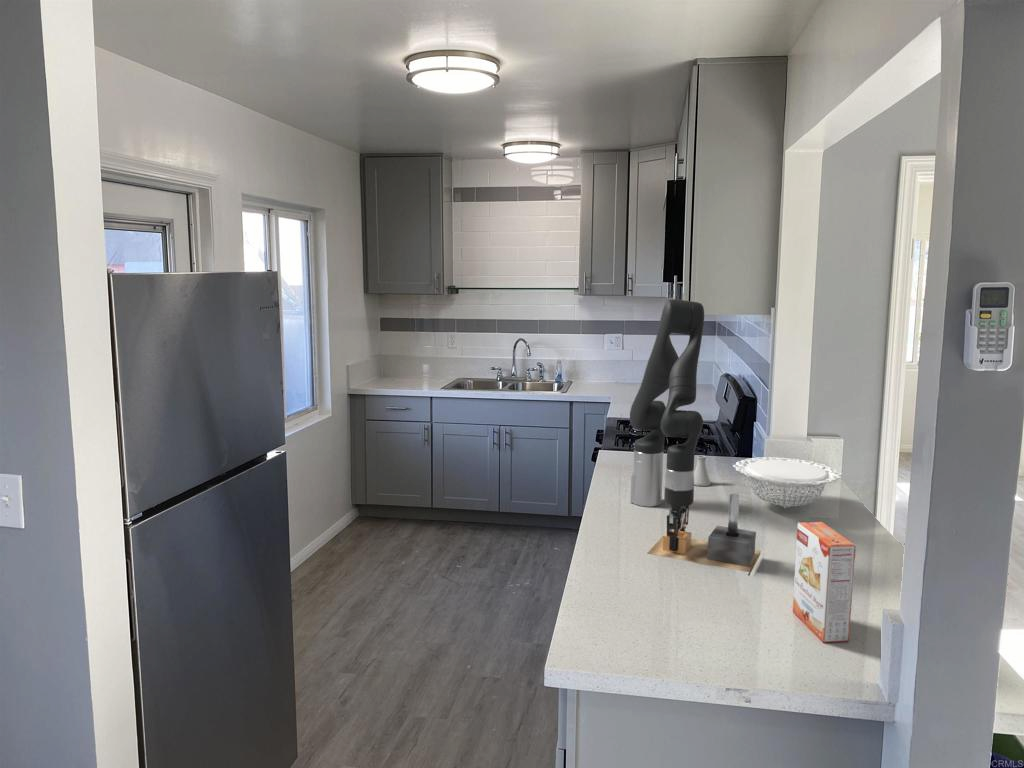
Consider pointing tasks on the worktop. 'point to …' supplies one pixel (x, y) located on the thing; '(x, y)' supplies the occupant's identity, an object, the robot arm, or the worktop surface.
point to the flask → (701, 472)
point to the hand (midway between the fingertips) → (676, 546)
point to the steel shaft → (733, 515)
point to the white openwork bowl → (786, 479)
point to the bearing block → (718, 550)
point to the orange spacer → (683, 542)
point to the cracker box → (824, 581)
